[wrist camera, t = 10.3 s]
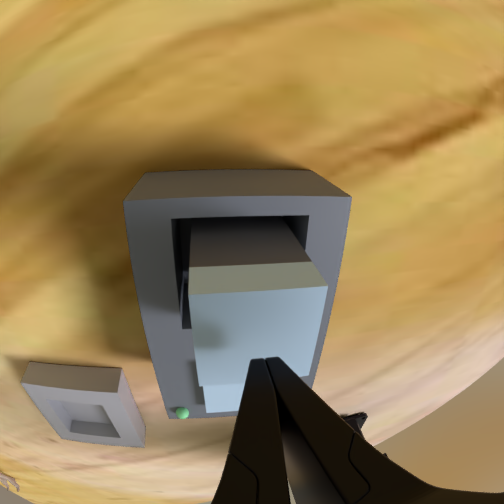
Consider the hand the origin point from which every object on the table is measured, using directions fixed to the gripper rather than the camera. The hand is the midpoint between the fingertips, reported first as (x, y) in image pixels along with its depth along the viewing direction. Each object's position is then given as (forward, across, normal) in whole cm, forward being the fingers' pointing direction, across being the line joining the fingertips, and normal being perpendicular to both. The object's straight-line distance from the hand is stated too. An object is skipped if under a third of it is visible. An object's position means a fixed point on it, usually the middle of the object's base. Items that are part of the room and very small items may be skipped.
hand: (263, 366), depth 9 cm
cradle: (+10, +13, +15) cm, 22 cm away
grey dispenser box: (+10, 0, +3) cm, 11 cm away
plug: (+9, 0, 0) cm, 9 cm away
